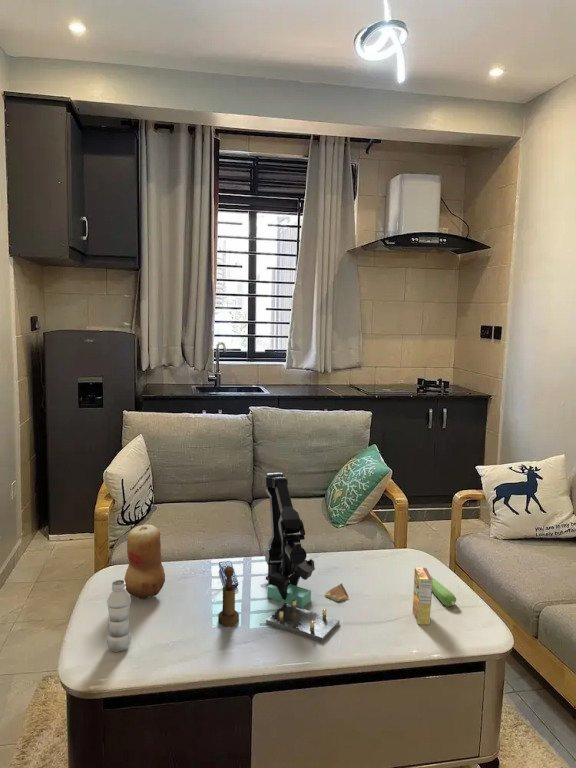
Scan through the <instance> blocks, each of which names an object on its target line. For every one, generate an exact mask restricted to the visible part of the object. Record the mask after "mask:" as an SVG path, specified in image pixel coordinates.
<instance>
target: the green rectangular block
mask: <svg viewBox="0 0 576 768" xmlns="http://www.w3.org/2000/svg"><path fill="white" fill-rule="evenodd" d="M266 592H267V593H266V595H267V596H266V597H267V598H269V599H272V600H275V601H278V602H281V603H284V604H288V605H291V606H293V600H296V606H297V607H298V608H299V607H300V608H301V609H304V607H306V605H308V604H309V603H310V602H311V601H312V590H311V589H308V588H305V587H301V586H298V585H297V586H295V585H292V584H290V585H289V586H288V589H287V596H286V600H283V599H282V597H281V595H280V592H279V590H278V588H277V587H276V586H274V585H271V584H269V585H267V591H266Z"/></svg>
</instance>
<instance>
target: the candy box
mask: <svg viewBox="0 0 576 768" xmlns="http://www.w3.org/2000/svg"><path fill="white" fill-rule="evenodd" d="M431 576H432V575H431V574H430V573H429V571H428V569H427V567H414V576H413V592H412V593H413V596H412V597H413V598H412V613H413V616H414V619H415V621H416V623H417V625H422V626H423V625H426V626H427V625H428V626H430V624H431V611H432V608H431V607H432V597H433V596H432V593H433V592H432V581H433V580H432V578H431Z"/></svg>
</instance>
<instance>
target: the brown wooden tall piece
mask: <svg viewBox="0 0 576 768" xmlns="http://www.w3.org/2000/svg"><path fill="white" fill-rule="evenodd" d="M223 570H224V571H223V573H224V575H225V578H226V579H225V585H224V586H223V587H222V610H221V611H220V612H219V613H218V616H217V622H218V624H219V625H221V626H222V627H234V626H236V625H238V624H239V622H240V614H239V611H237V610H236V587H235V586H234V585H233V581H234V580H232V577H233V575H234V572H235V570H234V568H233V567H232V566H226V567H225V568H224V569H223Z"/></svg>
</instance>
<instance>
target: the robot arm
mask: <svg viewBox="0 0 576 768" xmlns="http://www.w3.org/2000/svg"><path fill="white" fill-rule="evenodd" d="M262 484H263V486H264V491H265V492H266V493H267V496H268V497H269V510H270V512H269V513H270V525H271V538H270V539H269V541H268V543H267V549H266V551H265V554H264V559H265V562H266V564H267V575H266V576H265V579H266V580H267V581H268V584H269V585H270V584H271V585H274V586H276V587H277V588H278V590H279V592H280V595H281V597H282V599H283V600H286V596H287V589H288V586H289V585H290V584H292V585H295V586H298V584H299V582H300V581H299V580H300V578H301V579H302V580H305V581H306V580H308V579H309V578H311V577H312V574H313V572H314V571H315V570H316V568H315V561H314V560H313V559H312V558H310V559H309V560H307V557H308V556H307V554H308V553H307V551H306V550H305V548H304V547H303V545H302V543H301V540H302V541H304V540H305V535H306V530H305V527H304V522H303V520H302V519H301V517H300V515H299V512H298V511H297V510H295V508H294V506H293V503H292V499H291V494H290V490H289V486H288V485H289V483H288V475H284V473H283V472H269V473H268V472H267V473H265V476H263V478H262Z"/></svg>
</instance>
